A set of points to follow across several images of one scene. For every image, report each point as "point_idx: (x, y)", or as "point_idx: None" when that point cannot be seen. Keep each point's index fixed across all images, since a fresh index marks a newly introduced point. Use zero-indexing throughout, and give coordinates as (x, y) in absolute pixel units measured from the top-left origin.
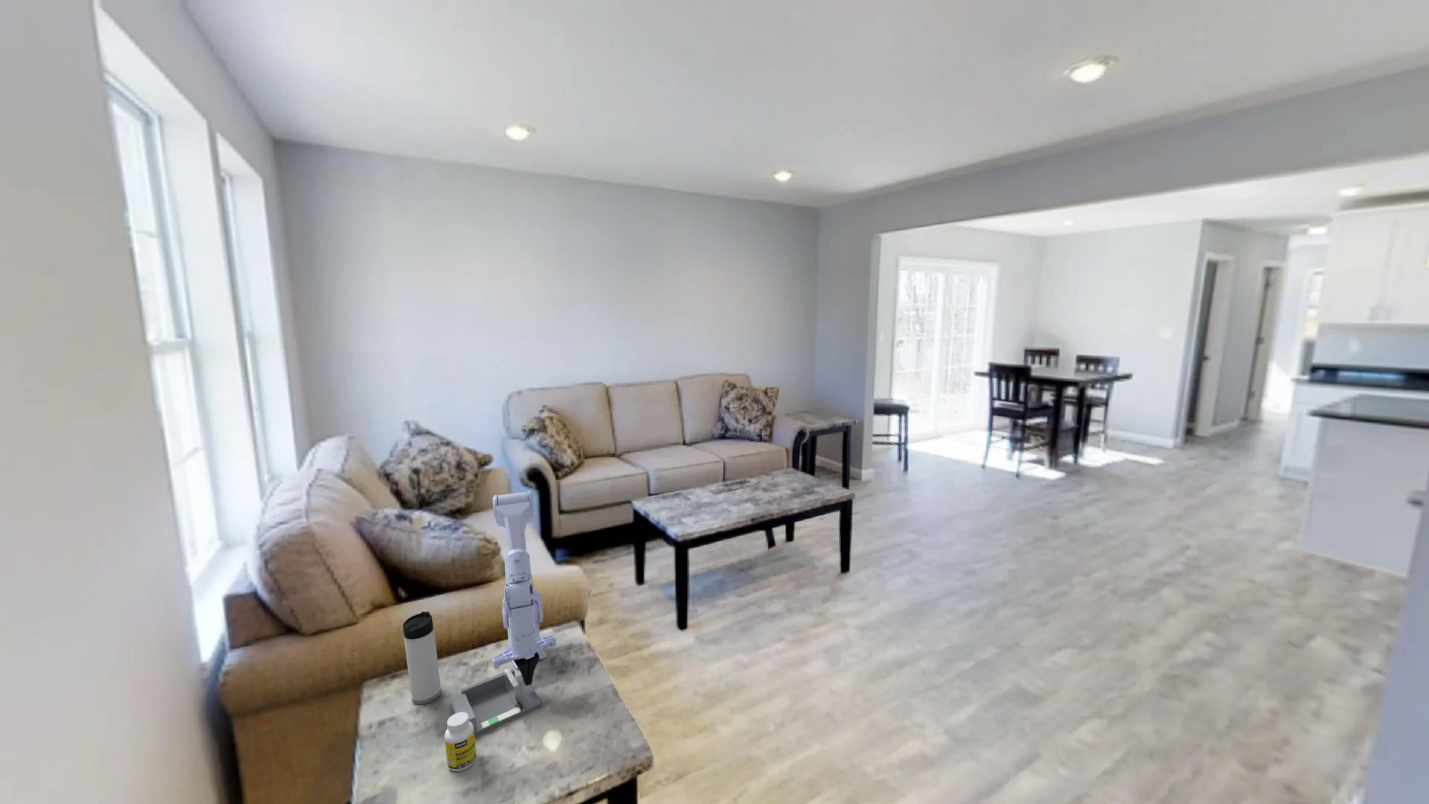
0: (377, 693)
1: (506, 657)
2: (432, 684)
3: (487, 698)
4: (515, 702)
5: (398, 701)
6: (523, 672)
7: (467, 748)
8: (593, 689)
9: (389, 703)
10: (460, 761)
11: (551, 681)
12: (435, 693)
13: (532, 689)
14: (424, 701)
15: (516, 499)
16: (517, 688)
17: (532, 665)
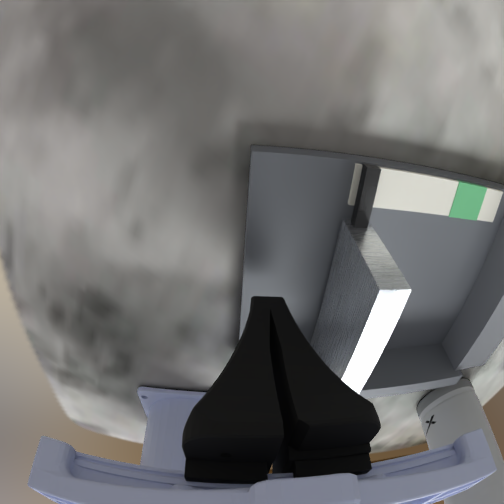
0: None
1: (441, 493)
2: (463, 416)
3: (399, 328)
4: (373, 230)
5: None
6: (318, 366)
7: None
8: (9, 119)
9: (478, 397)
10: None
11: (149, 283)
12: (449, 395)
13: (246, 278)
14: (466, 382)
15: None
16: (385, 277)
17: (252, 389)
